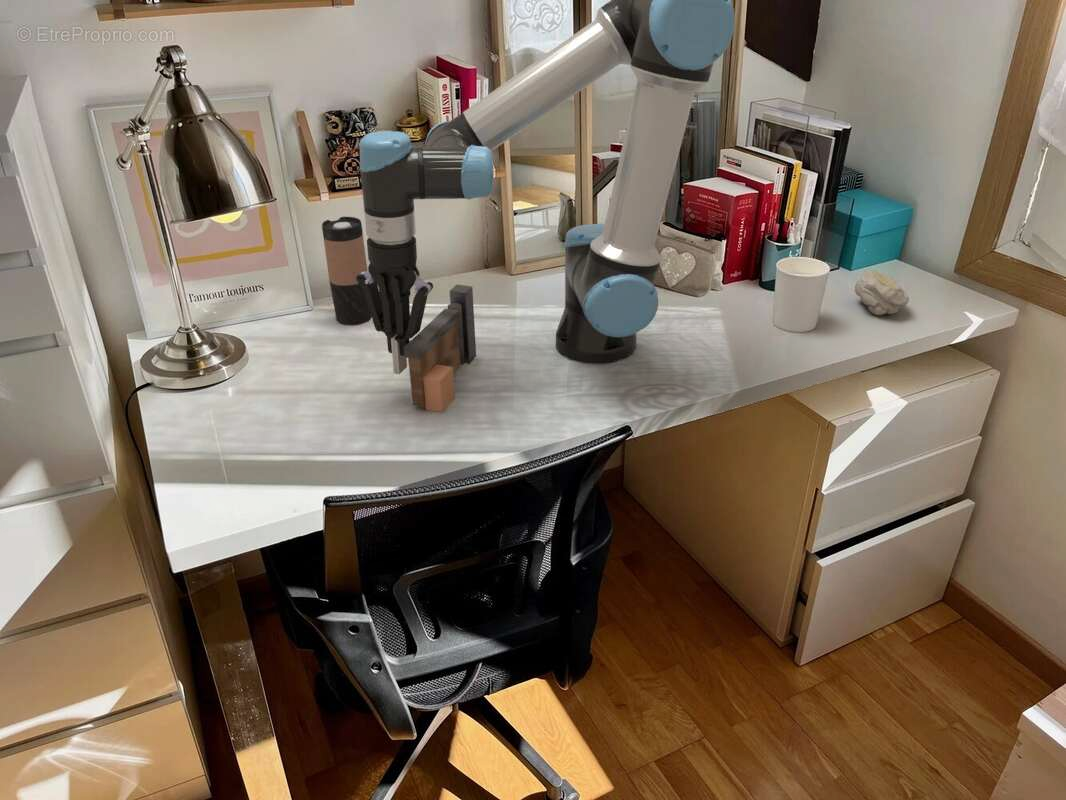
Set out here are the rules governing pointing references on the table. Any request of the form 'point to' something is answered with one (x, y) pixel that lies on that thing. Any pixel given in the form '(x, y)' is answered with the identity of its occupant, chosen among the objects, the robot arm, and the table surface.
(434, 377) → the block
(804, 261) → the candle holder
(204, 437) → the table surface
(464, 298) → the hinge post
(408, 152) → the robot arm
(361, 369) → the table surface
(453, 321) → the walnut gate
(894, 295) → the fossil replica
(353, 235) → the travel mug
